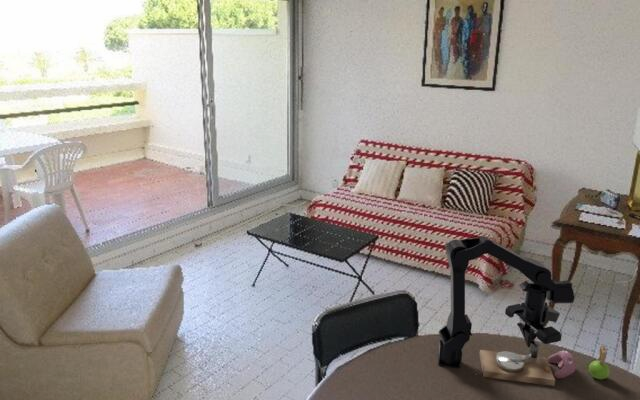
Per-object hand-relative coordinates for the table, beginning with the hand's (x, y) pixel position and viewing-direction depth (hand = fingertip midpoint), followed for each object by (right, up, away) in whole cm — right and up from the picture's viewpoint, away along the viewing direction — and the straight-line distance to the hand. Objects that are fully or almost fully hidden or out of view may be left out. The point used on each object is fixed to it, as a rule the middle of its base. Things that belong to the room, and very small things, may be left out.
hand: (529, 346), depth 158 cm
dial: (-5, -4, -3) cm, 7 cm away
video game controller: (+9, -7, -2) cm, 12 cm away
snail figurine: (+18, -8, -6) cm, 21 cm away
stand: (-5, -6, -3) cm, 9 cm away
